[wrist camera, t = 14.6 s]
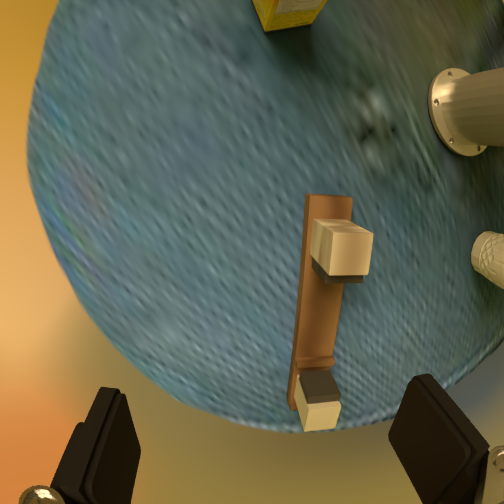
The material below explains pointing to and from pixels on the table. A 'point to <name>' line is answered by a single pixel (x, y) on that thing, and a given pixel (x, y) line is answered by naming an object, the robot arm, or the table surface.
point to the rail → (325, 280)
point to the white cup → (489, 257)
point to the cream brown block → (317, 400)
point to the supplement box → (286, 13)
